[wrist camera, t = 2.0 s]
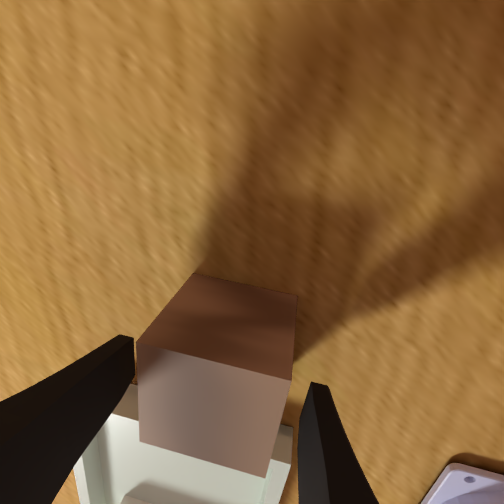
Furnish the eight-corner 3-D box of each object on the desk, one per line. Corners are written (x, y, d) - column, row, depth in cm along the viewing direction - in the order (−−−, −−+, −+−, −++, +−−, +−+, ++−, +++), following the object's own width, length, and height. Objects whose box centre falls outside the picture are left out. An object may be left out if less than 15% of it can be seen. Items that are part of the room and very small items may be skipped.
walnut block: (297, 294, 13) (291, 381, 9) (278, 374, 15) (265, 478, 11) (193, 272, 14) (136, 341, 9) (188, 352, 16) (139, 441, 11)
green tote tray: (293, 427, 16) (291, 464, 14) (249, 569, 24) (245, 606, 22) (85, 371, 18) (59, 398, 16) (105, 522, 25) (89, 552, 23)
